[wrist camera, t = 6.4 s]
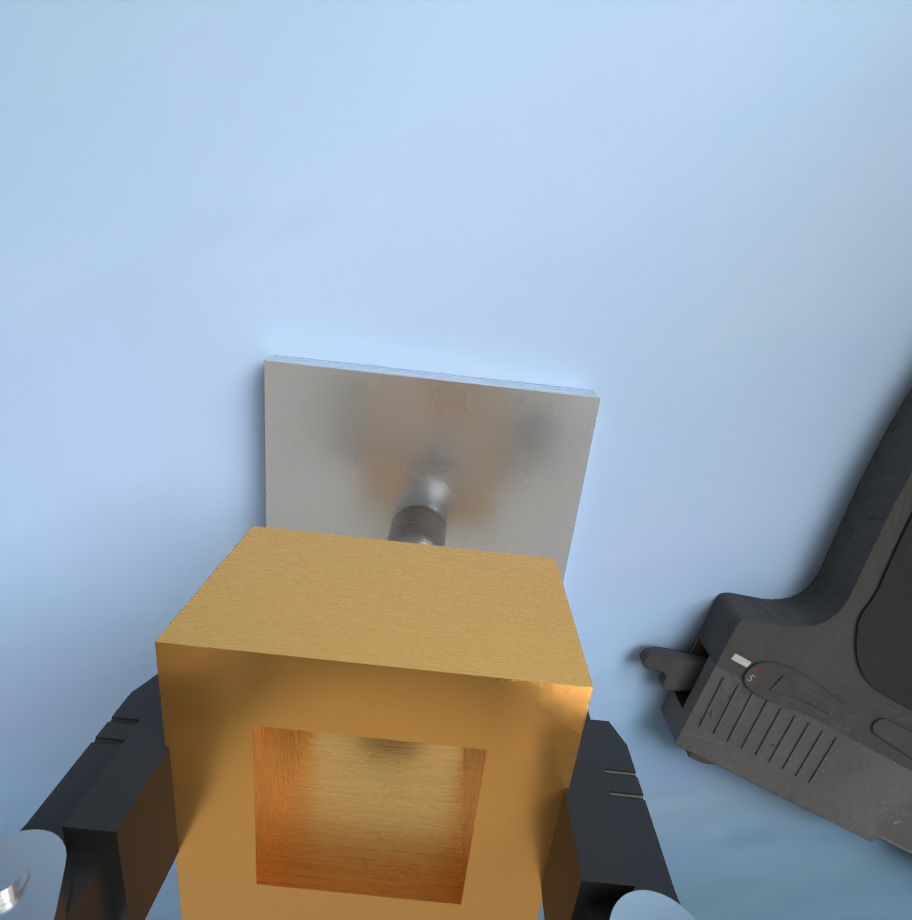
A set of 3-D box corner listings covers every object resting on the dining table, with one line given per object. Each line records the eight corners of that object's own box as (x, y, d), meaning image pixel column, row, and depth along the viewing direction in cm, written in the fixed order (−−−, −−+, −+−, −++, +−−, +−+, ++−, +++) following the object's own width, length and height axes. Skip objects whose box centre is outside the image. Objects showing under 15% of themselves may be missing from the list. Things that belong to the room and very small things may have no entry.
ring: (253, 525, 11) (155, 641, 7) (555, 558, 11) (593, 687, 7) (257, 755, 13) (182, 927, 9) (512, 781, 13) (527, 960, 9)
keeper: (275, 355, 17) (177, 398, 11) (593, 390, 17) (653, 451, 11) (276, 622, 20) (201, 760, 15) (542, 650, 20) (569, 797, 15)
